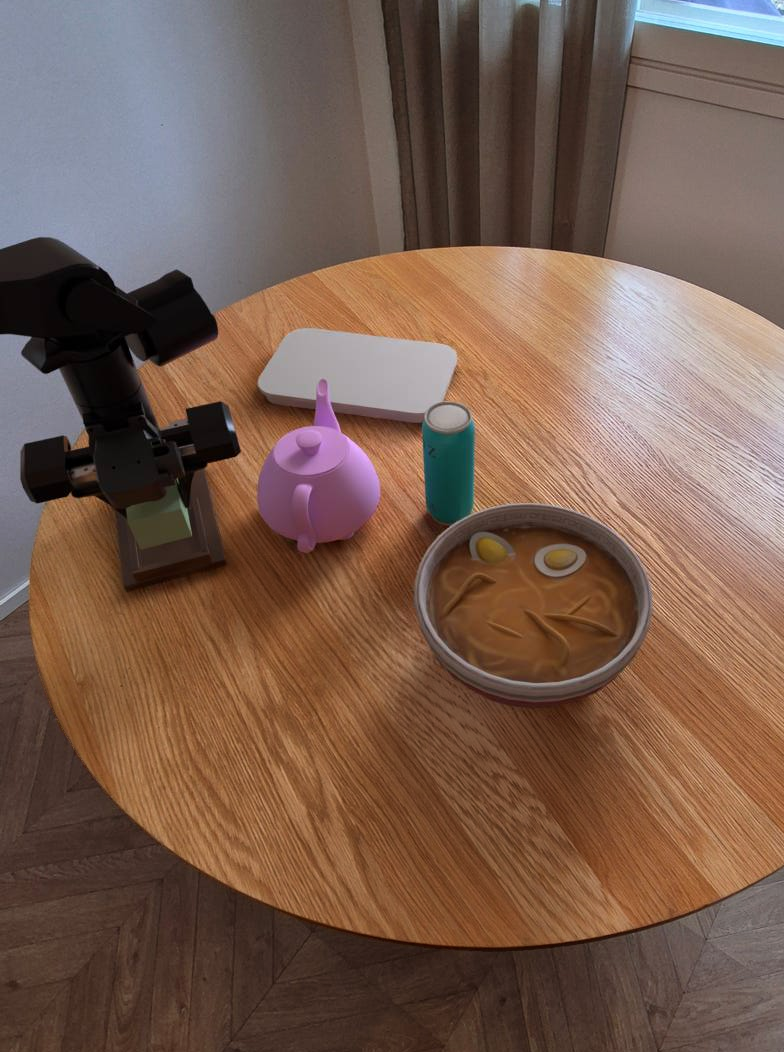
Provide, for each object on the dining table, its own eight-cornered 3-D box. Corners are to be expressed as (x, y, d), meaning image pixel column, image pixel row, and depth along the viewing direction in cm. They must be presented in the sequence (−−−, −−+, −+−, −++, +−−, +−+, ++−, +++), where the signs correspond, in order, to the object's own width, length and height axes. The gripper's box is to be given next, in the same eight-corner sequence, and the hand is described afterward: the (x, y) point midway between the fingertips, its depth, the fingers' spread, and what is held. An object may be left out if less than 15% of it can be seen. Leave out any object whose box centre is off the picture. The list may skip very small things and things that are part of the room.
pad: (140, 549, 78) (127, 522, 75) (134, 502, 82) (121, 474, 79) (192, 536, 79) (181, 509, 76) (183, 490, 83) (173, 462, 80)
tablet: (294, 338, 120) (291, 325, 118) (461, 359, 117) (461, 346, 115) (253, 404, 109) (250, 391, 107) (437, 429, 106) (436, 415, 104)
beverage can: (461, 490, 98) (460, 393, 87) (481, 520, 95) (483, 424, 84) (418, 504, 96) (412, 407, 85) (438, 536, 93) (434, 439, 82)
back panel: (126, 592, 87) (110, 563, 83) (114, 492, 97) (100, 462, 93) (227, 565, 90) (216, 535, 86) (205, 471, 100) (195, 441, 96)
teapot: (283, 451, 103) (265, 375, 94) (391, 455, 102) (384, 378, 93) (247, 570, 89) (223, 494, 80) (372, 574, 89) (362, 498, 80)
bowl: (498, 533, 93) (501, 471, 86) (674, 625, 85) (694, 565, 77) (372, 666, 81) (363, 607, 73) (564, 791, 72) (575, 738, 65)
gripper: (-14, 474, 61) (64, 597, 72) (231, 419, 65) (267, 543, 77) (-10, 390, 68) (60, 514, 79) (211, 346, 72) (247, 470, 84)
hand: (159, 511), depth 80 cm, fingers closed on pad, 5 cm apart
